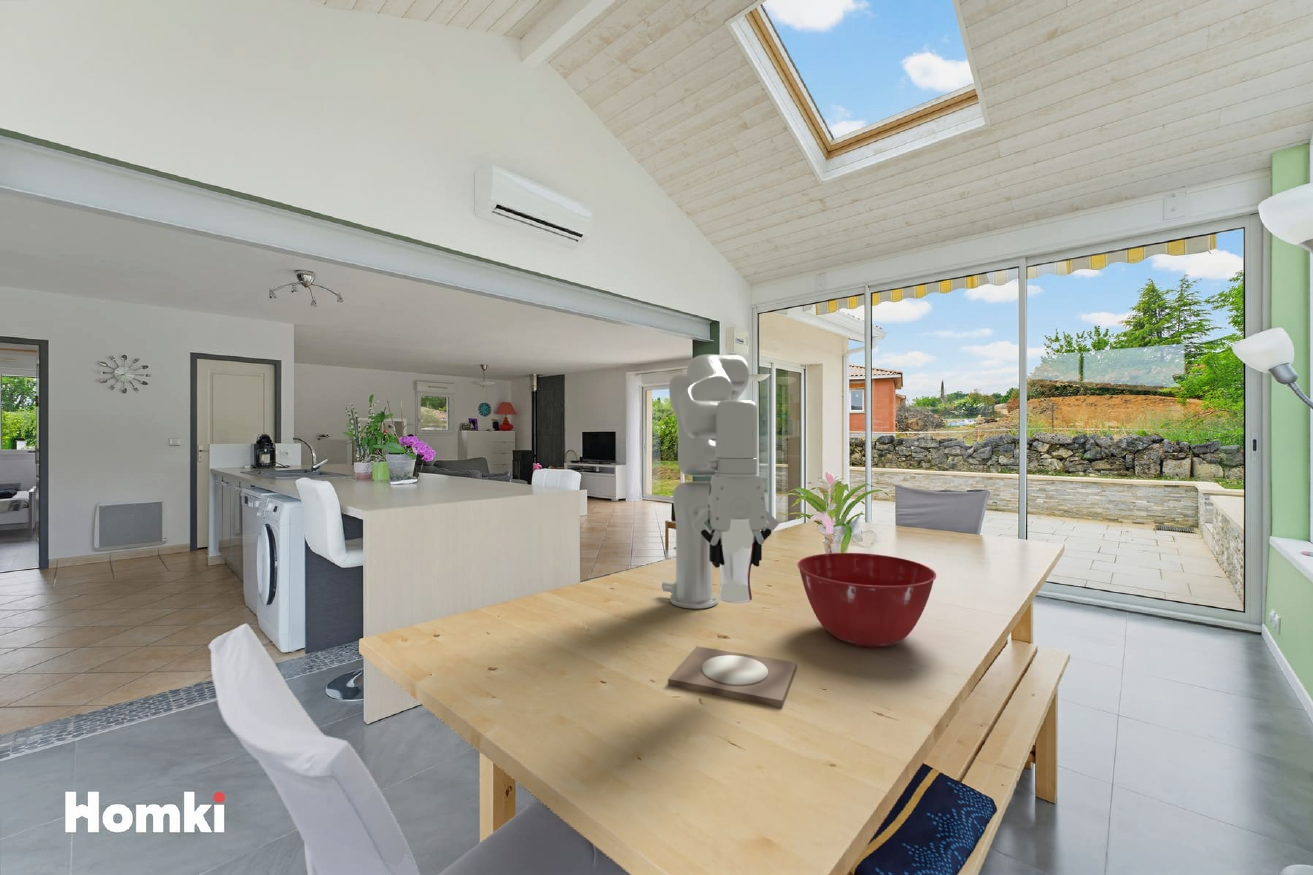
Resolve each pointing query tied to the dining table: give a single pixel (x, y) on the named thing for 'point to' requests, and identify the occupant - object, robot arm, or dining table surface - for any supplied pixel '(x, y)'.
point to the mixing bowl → (866, 595)
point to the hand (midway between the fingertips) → (735, 564)
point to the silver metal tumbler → (736, 561)
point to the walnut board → (735, 676)
